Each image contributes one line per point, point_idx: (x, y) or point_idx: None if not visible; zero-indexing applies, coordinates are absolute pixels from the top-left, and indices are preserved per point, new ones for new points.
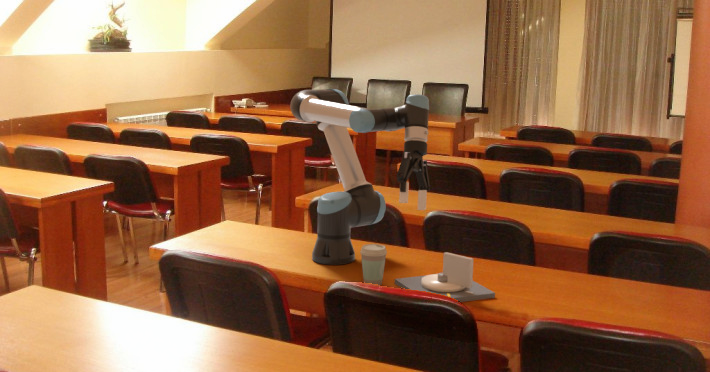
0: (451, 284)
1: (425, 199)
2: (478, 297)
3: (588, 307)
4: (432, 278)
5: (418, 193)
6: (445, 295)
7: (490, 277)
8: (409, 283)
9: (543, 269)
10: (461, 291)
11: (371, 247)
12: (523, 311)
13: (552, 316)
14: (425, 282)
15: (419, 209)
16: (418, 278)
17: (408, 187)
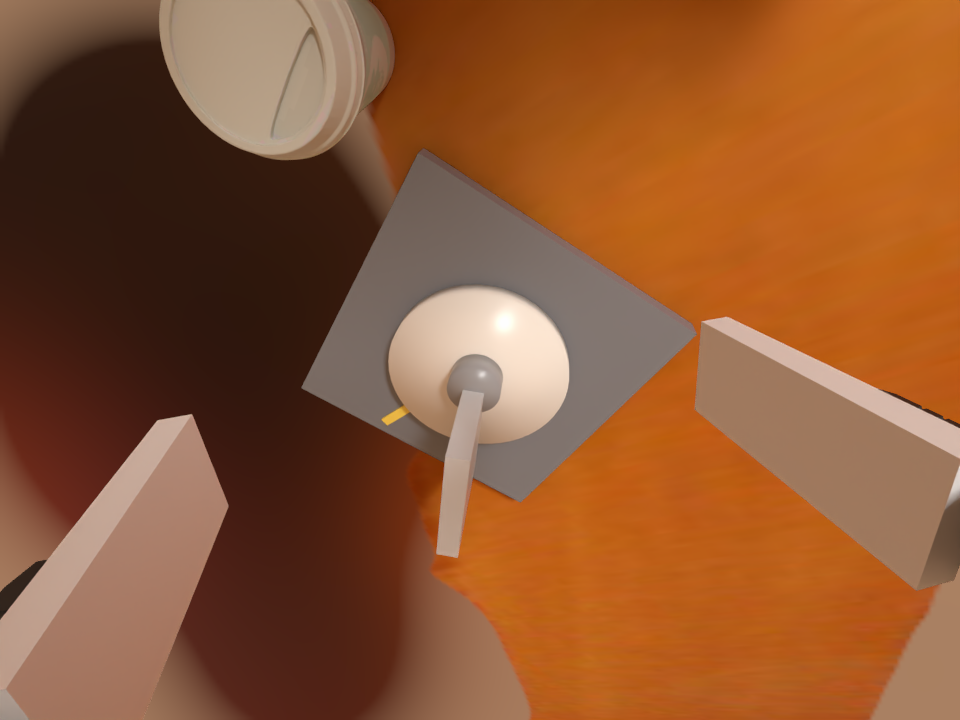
0: (452, 412)
1: (783, 478)
2: None
3: (589, 639)
4: (470, 332)
5: (892, 427)
6: (389, 406)
7: None
8: (409, 246)
9: None
10: None
11: (238, 40)
12: (464, 558)
13: (476, 601)
14: (404, 333)
15: (700, 347)
16: (499, 242)
17: (146, 699)
